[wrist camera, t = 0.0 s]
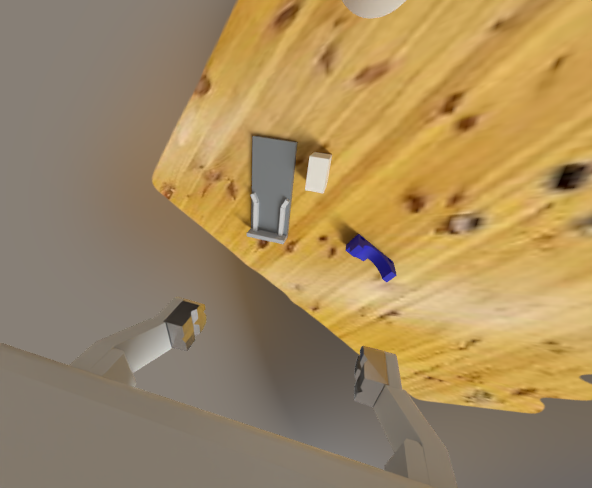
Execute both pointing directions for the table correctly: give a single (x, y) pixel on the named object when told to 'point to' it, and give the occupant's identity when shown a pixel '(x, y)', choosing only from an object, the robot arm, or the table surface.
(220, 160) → the table surface
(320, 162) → the panel block
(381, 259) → the cable clip
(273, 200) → the mounting plate
